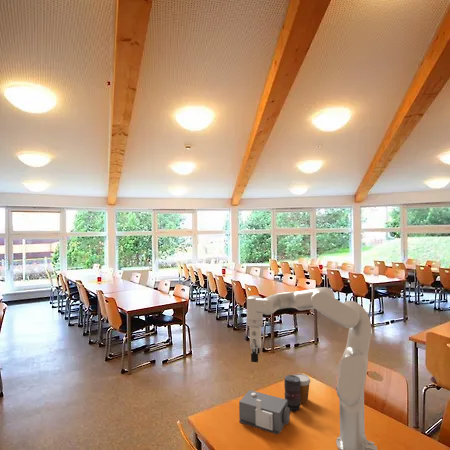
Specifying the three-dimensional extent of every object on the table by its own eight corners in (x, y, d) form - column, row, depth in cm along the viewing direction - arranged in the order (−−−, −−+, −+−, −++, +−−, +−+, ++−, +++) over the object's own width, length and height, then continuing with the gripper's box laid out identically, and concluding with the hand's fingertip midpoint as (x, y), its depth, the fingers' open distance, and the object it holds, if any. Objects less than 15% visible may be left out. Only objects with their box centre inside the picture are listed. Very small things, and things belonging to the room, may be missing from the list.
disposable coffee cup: (288, 397, 165) (288, 375, 165) (302, 393, 169) (302, 371, 169) (300, 407, 156) (299, 383, 156) (314, 402, 160) (314, 379, 160)
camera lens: (301, 413, 151) (300, 382, 151) (284, 411, 152) (284, 381, 152) (300, 404, 159) (300, 375, 159) (284, 402, 160) (284, 373, 160)
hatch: (273, 429, 137) (272, 403, 137) (272, 430, 136) (271, 404, 136) (256, 424, 141) (256, 398, 141) (255, 425, 140) (255, 400, 140)
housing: (291, 419, 146) (290, 399, 146) (282, 436, 134) (281, 413, 134) (249, 407, 156) (249, 388, 156) (238, 422, 145) (238, 401, 145)
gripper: (261, 327, 138) (262, 365, 138) (263, 317, 155) (264, 350, 155) (245, 327, 139) (245, 364, 139) (248, 316, 156) (249, 350, 156)
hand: (255, 357), depth 147 cm, fingers open, 9 cm apart
